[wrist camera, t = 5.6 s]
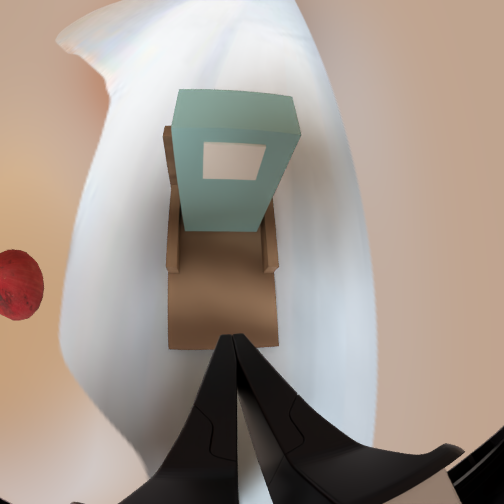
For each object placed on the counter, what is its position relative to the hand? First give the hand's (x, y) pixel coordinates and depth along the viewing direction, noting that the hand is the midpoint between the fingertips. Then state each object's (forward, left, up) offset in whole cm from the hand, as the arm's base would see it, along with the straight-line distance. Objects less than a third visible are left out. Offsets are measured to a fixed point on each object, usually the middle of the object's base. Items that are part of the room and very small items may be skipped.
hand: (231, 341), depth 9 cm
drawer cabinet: (+6, 0, -12) cm, 14 cm away
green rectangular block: (+10, 0, -11) cm, 15 cm away
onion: (+3, +18, -13) cm, 22 cm away
